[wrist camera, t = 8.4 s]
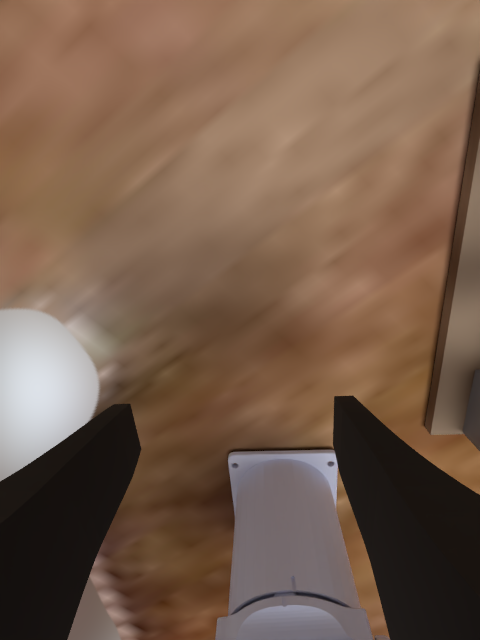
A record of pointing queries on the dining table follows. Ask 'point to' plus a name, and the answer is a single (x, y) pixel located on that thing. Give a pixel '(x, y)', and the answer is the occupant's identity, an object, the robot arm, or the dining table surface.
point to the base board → (460, 305)
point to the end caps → (473, 413)
